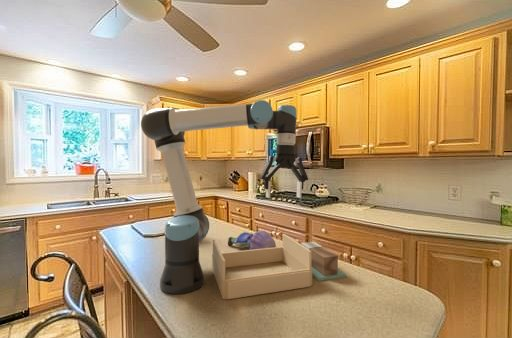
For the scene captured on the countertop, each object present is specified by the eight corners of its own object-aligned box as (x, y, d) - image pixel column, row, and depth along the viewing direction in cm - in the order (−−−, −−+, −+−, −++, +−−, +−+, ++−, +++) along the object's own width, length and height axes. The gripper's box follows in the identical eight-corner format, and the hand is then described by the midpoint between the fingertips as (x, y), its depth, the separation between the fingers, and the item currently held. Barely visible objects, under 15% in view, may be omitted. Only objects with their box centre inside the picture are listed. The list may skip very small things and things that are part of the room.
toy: (223, 250, 132) (265, 263, 111) (223, 229, 133) (264, 238, 111) (249, 243, 145) (291, 253, 123) (248, 224, 145) (290, 230, 123)
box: (323, 276, 97) (323, 257, 97) (301, 259, 114) (301, 242, 114) (337, 273, 99) (338, 255, 98) (313, 257, 116) (313, 241, 116)
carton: (223, 300, 81) (223, 262, 81) (211, 267, 107) (211, 238, 107) (313, 286, 90) (314, 252, 90) (283, 259, 116) (283, 232, 116)
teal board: (318, 280, 95) (318, 278, 95) (294, 261, 114) (294, 259, 114) (346, 276, 98) (346, 274, 98) (318, 258, 118) (318, 256, 118)
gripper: (259, 142, 96) (257, 198, 96) (318, 146, 104) (315, 198, 104) (253, 143, 103) (251, 196, 103) (308, 147, 111) (306, 196, 111)
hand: (283, 197), depth 104 cm, fingers open, 13 cm apart
